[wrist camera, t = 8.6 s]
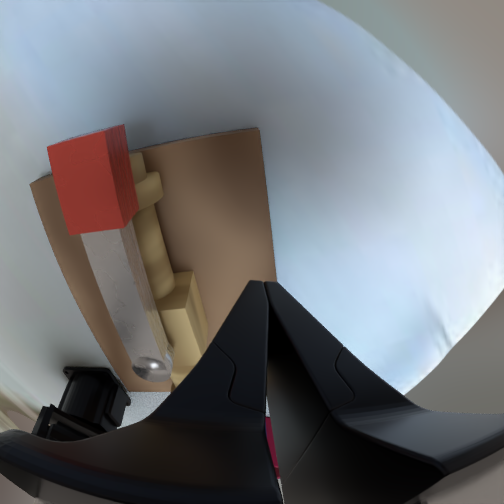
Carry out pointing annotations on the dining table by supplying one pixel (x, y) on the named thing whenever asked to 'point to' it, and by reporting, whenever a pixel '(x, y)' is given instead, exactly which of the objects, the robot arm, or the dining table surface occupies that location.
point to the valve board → (179, 243)
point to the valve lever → (112, 240)
